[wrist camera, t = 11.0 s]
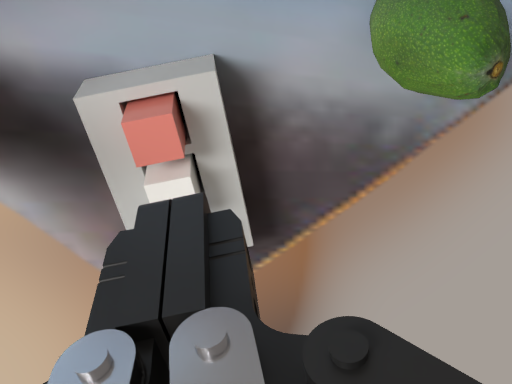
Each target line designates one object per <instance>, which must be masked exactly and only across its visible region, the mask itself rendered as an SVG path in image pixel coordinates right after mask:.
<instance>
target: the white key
mask: <svg viewBox="0 0 512 384" xmlns="http://www.w3.org/2000/svg"><path fill="white" fill-rule="evenodd" d="M144 189H145V191H146V194H147V197H148V200H149V203H153V202H158V201H163V200H168V199H173V198H177V197H182V196H187V195H192V194H196V193H200V181H199V178H198V174H197V170H196V167H195V163H194V159H193V156H192V153H191V154H186V155H185V158H182V159H177V160H172V161H167V162H162V163H157V164H152V165H147V169H146V175H145V180H144Z"/></svg>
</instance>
